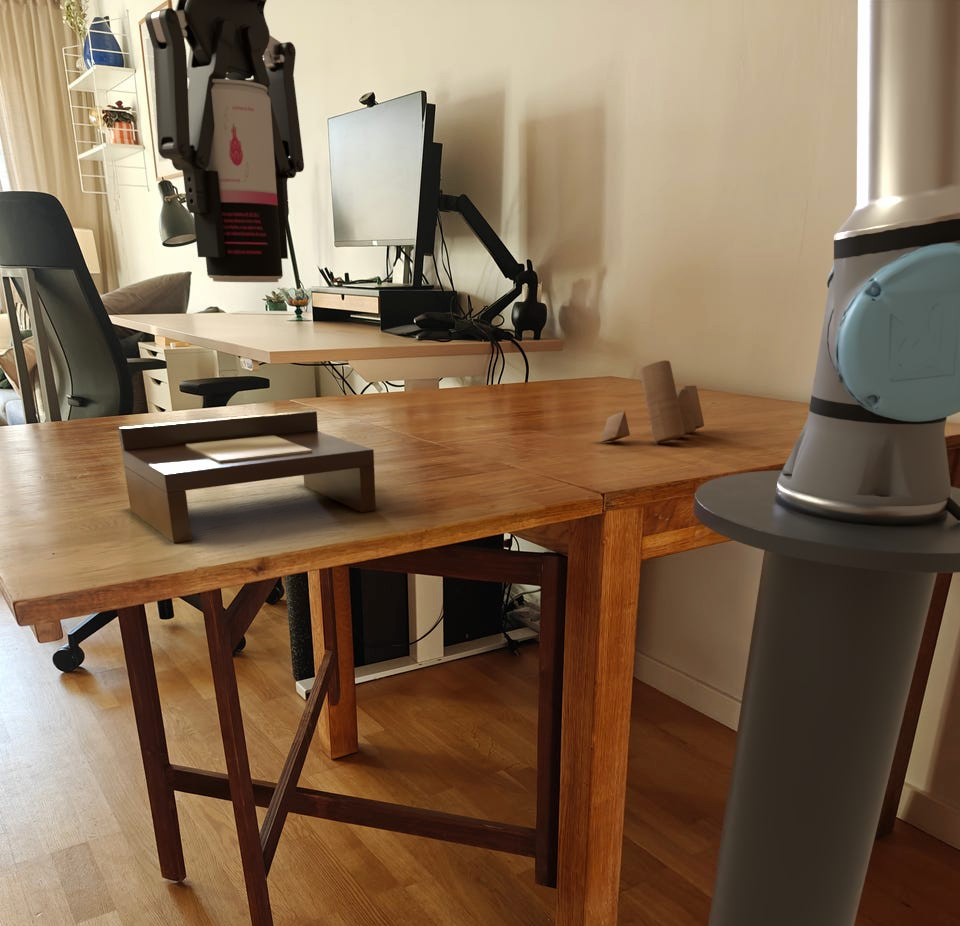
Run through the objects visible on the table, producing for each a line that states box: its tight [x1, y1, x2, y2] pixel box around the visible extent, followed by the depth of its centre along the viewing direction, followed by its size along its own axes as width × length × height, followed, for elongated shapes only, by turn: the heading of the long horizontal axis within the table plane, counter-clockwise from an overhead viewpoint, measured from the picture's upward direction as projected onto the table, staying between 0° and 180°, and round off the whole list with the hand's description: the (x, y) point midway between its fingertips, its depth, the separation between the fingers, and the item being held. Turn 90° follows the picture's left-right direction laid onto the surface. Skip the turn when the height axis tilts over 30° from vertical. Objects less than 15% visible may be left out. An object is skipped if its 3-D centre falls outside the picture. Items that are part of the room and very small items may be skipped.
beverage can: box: [205, 78, 284, 283], centre depth 75 cm, size 7×7×15 cm
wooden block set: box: [599, 360, 705, 444], centre depth 121 cm, size 18×9×10 cm, turn 131°
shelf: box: [117, 409, 377, 544], centre depth 83 cm, size 13×20×8 cm, turn 126°
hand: (244, 257), depth 77 cm, fingers closed on beverage can, 6 cm apart
